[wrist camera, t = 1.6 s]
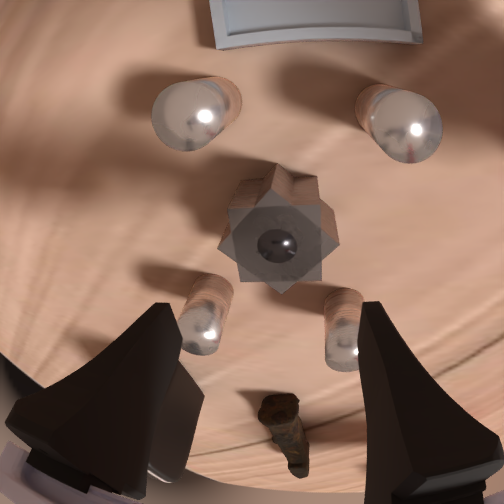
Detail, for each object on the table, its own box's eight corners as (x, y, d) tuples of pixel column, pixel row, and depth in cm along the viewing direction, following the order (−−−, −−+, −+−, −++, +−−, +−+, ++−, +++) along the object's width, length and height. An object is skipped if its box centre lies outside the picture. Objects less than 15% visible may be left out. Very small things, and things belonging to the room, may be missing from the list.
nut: (332, 160, 17) (339, 185, 14) (333, 253, 20) (337, 293, 17) (224, 166, 18) (205, 192, 15) (239, 255, 22) (227, 294, 18)
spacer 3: (366, 287, 21) (376, 340, 17) (362, 318, 23) (369, 370, 19) (324, 289, 22) (326, 343, 18) (323, 319, 24) (324, 372, 19)
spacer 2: (229, 273, 22) (212, 324, 18) (236, 305, 24) (222, 356, 20) (189, 273, 23) (166, 322, 19) (198, 305, 25) (179, 353, 20)
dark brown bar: (260, 391, 31) (253, 430, 27) (299, 390, 30) (296, 430, 26) (286, 454, 40) (283, 481, 36) (313, 453, 39) (311, 481, 36)
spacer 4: (406, 85, 14) (443, 95, 10) (406, 137, 15) (440, 164, 11) (353, 83, 14) (373, 90, 10) (355, 136, 16) (375, 163, 12)
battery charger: (147, 356, 30) (105, 453, 20) (178, 355, 29) (139, 461, 19) (178, 394, 33) (148, 482, 24) (207, 395, 32) (181, 488, 23)
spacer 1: (238, 72, 15) (214, 75, 11) (245, 124, 17) (225, 146, 12) (185, 81, 16) (145, 90, 11) (194, 131, 17) (159, 155, 13)
